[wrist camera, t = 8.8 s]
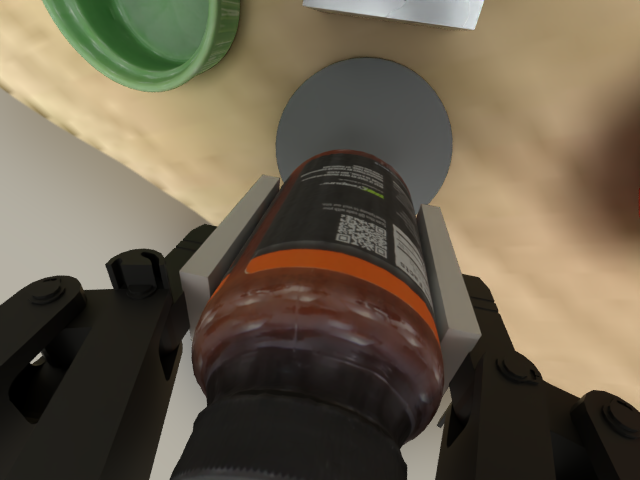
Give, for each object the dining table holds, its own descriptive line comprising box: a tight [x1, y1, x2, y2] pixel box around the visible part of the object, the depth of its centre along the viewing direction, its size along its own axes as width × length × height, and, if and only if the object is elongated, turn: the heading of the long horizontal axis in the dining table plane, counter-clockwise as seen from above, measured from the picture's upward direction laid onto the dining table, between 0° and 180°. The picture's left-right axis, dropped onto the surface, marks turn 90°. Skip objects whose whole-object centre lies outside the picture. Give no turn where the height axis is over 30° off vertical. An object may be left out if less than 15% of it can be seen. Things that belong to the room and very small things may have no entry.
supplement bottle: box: [170, 149, 444, 480], centre depth 10 cm, size 6×6×11 cm
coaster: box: [276, 57, 452, 215], centre depth 20 cm, size 11×11×1 cm
